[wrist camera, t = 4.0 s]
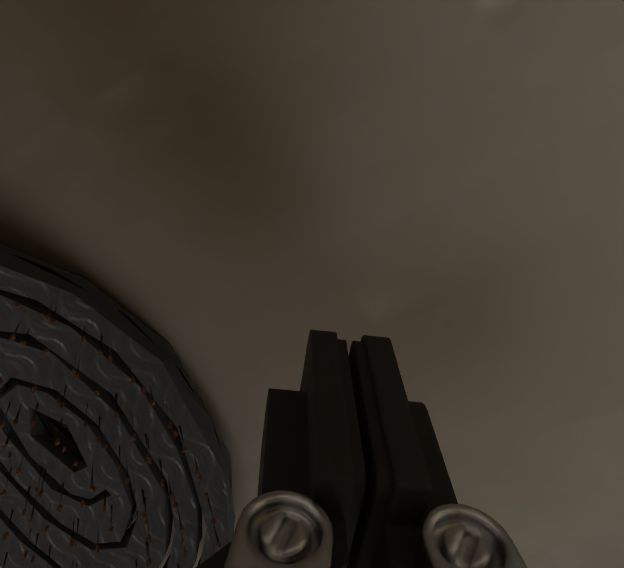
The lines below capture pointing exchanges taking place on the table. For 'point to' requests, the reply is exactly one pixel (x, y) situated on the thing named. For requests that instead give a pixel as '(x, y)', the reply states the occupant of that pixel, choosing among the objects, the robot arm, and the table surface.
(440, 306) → the table surface
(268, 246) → the table surface
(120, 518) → the hairbrush
